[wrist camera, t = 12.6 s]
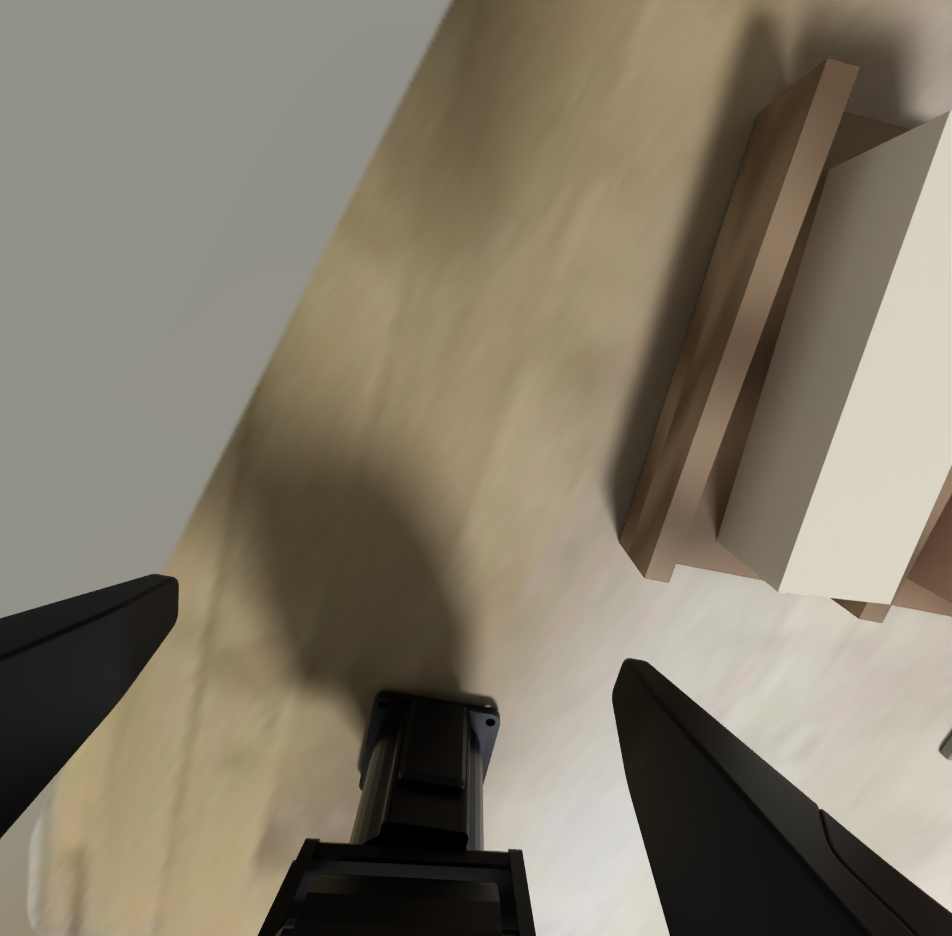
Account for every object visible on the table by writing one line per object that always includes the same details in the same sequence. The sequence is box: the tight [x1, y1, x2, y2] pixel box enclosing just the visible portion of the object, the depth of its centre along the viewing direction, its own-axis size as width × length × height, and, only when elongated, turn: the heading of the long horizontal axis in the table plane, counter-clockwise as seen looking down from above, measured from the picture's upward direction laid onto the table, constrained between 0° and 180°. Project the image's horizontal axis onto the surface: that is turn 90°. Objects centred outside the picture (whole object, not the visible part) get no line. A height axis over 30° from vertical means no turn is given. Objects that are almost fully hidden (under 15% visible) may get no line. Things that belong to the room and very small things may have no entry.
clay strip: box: [717, 111, 952, 605], centre depth 15 cm, size 14×4×4 cm, turn 173°
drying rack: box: [619, 58, 952, 623], centre depth 17 cm, size 17×19×3 cm
